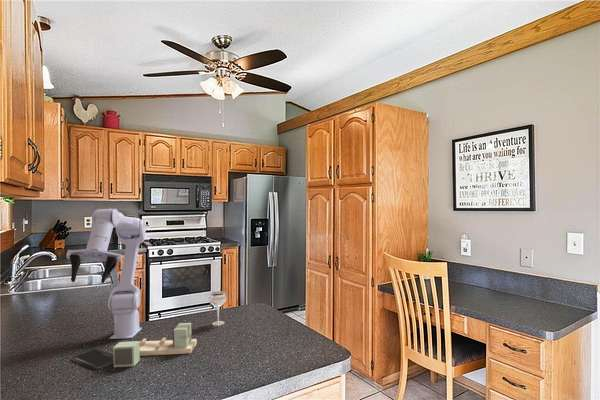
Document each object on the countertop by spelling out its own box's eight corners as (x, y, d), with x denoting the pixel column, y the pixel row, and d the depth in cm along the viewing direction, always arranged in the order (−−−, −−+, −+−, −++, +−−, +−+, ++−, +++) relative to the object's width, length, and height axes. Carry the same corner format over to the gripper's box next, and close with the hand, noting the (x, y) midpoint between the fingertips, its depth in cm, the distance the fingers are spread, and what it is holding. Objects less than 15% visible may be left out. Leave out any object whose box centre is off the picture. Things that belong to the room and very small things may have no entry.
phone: (96, 368, 102) (70, 357, 110) (96, 372, 102) (70, 361, 110) (122, 357, 109) (96, 348, 117) (122, 361, 109) (96, 351, 117)
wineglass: (214, 327, 135) (213, 296, 135) (206, 323, 140) (206, 293, 140) (230, 323, 139) (229, 293, 139) (222, 319, 144) (221, 290, 144)
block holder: (137, 346, 119) (137, 324, 119) (196, 343, 120) (196, 321, 120) (127, 356, 111) (126, 333, 111) (190, 353, 112) (190, 330, 112)
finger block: (120, 361, 108) (119, 342, 108) (139, 360, 108) (139, 341, 108) (112, 368, 104) (112, 348, 104) (133, 367, 104) (132, 347, 104)
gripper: (71, 232, 104) (56, 273, 96) (124, 236, 109) (115, 276, 101) (73, 244, 109) (60, 284, 101) (124, 248, 114) (115, 286, 106)
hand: (87, 281), depth 101 cm, fingers open, 7 cm apart
